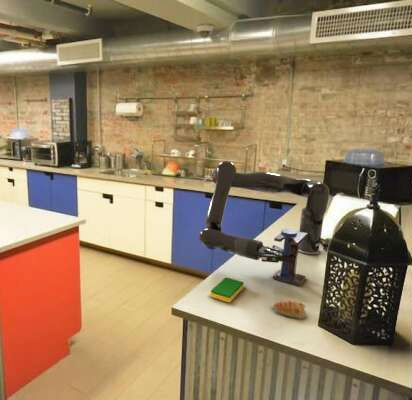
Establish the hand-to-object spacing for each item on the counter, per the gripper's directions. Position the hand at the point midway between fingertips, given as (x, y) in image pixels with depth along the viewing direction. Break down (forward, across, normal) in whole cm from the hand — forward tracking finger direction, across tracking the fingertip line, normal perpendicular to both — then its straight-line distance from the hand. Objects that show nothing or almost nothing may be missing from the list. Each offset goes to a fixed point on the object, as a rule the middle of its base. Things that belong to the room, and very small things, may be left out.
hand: (294, 259), depth 134 cm
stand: (-3, +5, +12) cm, 13 cm away
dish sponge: (-17, -18, +12) cm, 27 cm away
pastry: (+5, -18, +12) cm, 22 cm away
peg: (-3, 0, +8) cm, 9 cm away
